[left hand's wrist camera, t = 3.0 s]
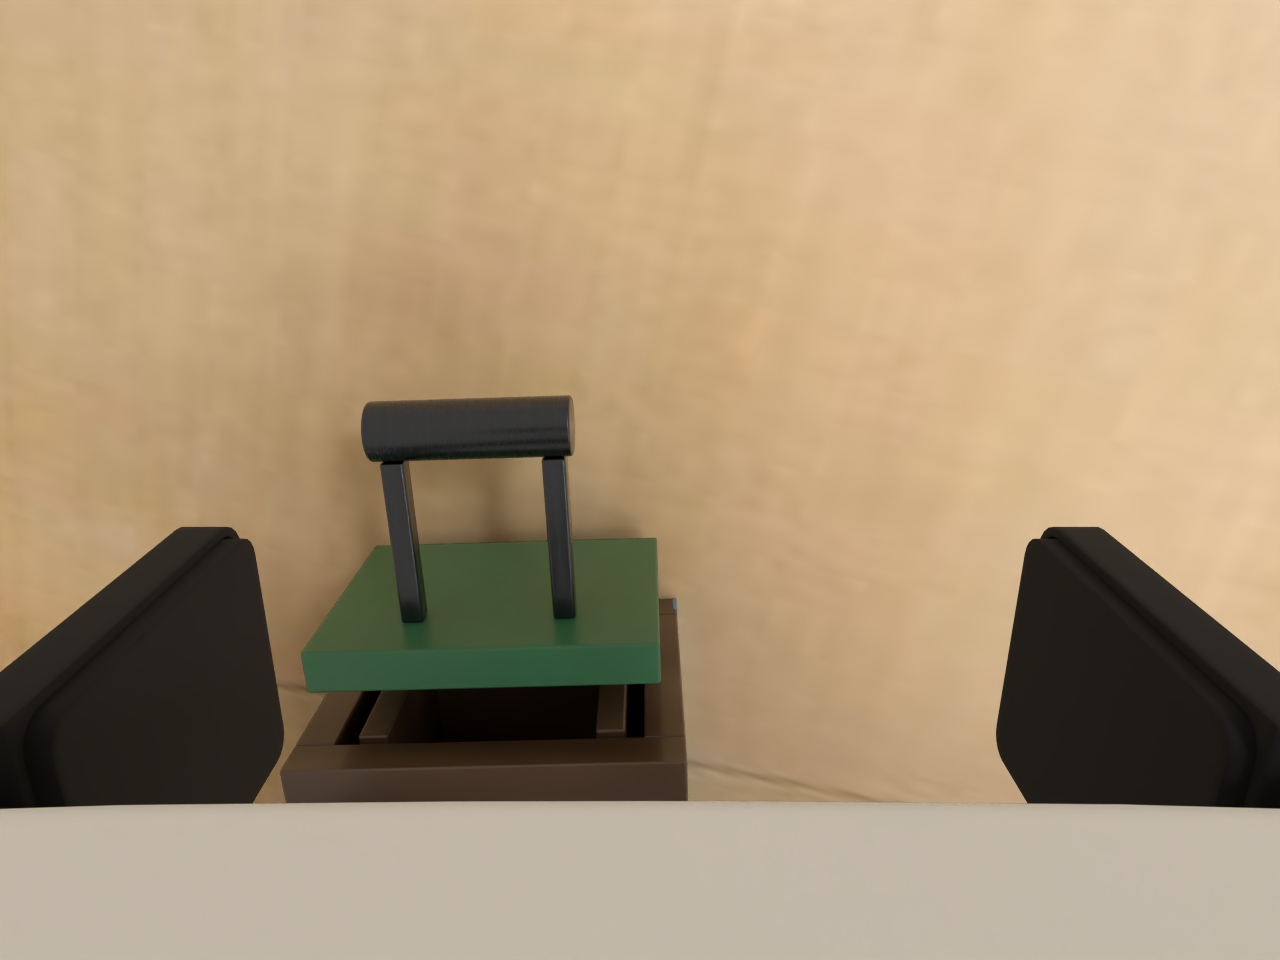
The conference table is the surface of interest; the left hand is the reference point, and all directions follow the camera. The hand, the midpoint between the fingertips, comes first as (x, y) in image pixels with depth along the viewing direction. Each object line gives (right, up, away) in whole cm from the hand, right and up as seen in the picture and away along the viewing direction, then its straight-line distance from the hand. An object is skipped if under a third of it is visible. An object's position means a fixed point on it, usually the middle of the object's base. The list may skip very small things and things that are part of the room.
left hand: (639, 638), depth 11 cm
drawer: (-4, -4, +20) cm, 20 cm away
